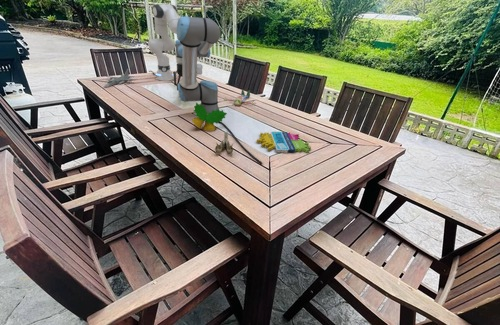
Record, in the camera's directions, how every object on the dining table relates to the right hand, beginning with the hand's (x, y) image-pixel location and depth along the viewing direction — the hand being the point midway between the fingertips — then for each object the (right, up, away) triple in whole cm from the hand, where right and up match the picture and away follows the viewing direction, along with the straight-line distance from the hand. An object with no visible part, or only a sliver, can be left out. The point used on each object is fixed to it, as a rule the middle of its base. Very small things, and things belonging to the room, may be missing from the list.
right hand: (183, 94), depth 203 cm
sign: (+70, -41, -50) cm, 96 cm away
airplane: (-73, +23, +47) cm, 90 cm away
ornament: (+26, -31, -38) cm, 56 cm away
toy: (+44, -1, +18) cm, 48 cm away
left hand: (-3, +25, +40) cm, 47 cm away
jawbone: (+38, -47, -64) cm, 88 cm away
